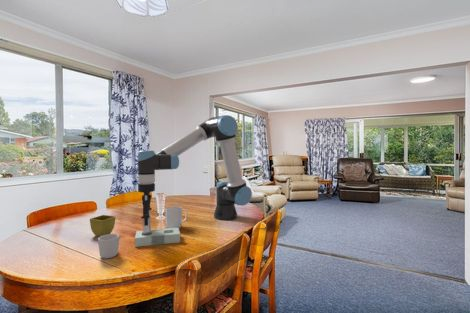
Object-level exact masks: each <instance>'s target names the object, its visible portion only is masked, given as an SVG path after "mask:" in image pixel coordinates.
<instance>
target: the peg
mask: <svg viewBox="0 0 470 313" xmlns="http://www.w3.org/2000/svg"><path fill="white" fill-rule="evenodd" d="M151 222H152V220H151V215H150V216H149V229H150V232H146V233H143V235H151V230H152V226H151Z"/></svg>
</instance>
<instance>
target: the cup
mask: <svg viewBox="0 0 470 313" xmlns="http://www.w3.org/2000/svg"><path fill="white" fill-rule="evenodd" d="M97 244H98V252H99V256H100V258H101V259H111V258H114V257H115V256H117V255H118V253H119V246H120V235H119V234H118V233H110V234H107V235H103V236H98V238H97Z"/></svg>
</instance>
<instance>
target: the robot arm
mask: <svg viewBox="0 0 470 313" xmlns="http://www.w3.org/2000/svg"><path fill="white" fill-rule="evenodd" d="M237 133H238V122H237V120H236V118H234V117H232V115H230V114H229V115H228V114H227V115H225V114H224V115H220V116H219V115H218V116H214V117H213V116H212V117H210V118H208V119H207V120H205V121H204V122H202V123H200V124H199V125H198V126H196V127H195V129H194V130H192V131H191V132H189V133H188V134H186V135H184V136H182V137H181V138H179V139H178V140H175V142H172V143H171V144H169V145H168V146H166V147H165V148H162V149H161V150H159V151H158V152H156V151H155V150H139V151H138V152H137V176H136V179H137V182H138V184H137V192H139V193H143V195H142V196H141V199H142V205H143V206H142V216H140V218H141V219H142V231H143V233H146V232H150V229H149V216H151V211H153V210H152V207H151V200H152V194H151V193H152V192H155V190H156V184H155V182H156V178H155V177H156V171H160V170H171V171H172V170H177V169H178V168H179V166H180V158H179V156H180V155H182V154H183V153H185V152H187V151H189V149H191V148H193V147H194V146H196V145H198V144H199V143H200V142H204V141H205V142H206V141H207V140H208V139H211V138H215V141H216V142H217V143H218V144H219V146H220V151H221V155H222V160H223V164H224V169H225V172H226V177H227V181H219V182H217V183H216V188H215V189H216V191H215V192H216V205H215V208H214V212H213V219H216V220H220V221H229V220H234V219H237V218H238V211H237V209H236V206H246V205H248V204H249V202H250V201H251V199H252V195H253V192H252V189H251V187H250V186H247V183H246V182H247V181H246V180H245V179H243V175H242V171H241V166H240V161H239V158H238V157H239V156H238V152H237V147H236V143H235V139H236V137H237V135H236V134H237ZM235 205H236V206H235Z"/></svg>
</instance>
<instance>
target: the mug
mask: <svg viewBox="0 0 470 313" xmlns="http://www.w3.org/2000/svg"><path fill="white" fill-rule="evenodd" d="M164 210H165V216H164V217H165V229H168V228H179V229H181V228H182V225H183V223H185V221H186V220H187V218H188V209H185V208H182V206H177V205H176V206H175V205H173V206H167V207H165V209H164ZM183 211H185V216H184V217H185V218H184V219H182V218H183V217H182V216H183V213H182V212H183Z"/></svg>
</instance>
